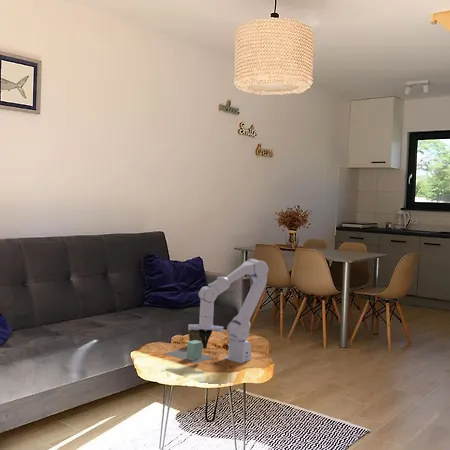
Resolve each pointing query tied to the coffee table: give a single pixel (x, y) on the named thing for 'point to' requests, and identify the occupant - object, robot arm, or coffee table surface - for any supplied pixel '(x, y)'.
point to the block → (194, 350)
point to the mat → (183, 355)
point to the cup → (194, 335)
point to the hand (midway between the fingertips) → (204, 347)
